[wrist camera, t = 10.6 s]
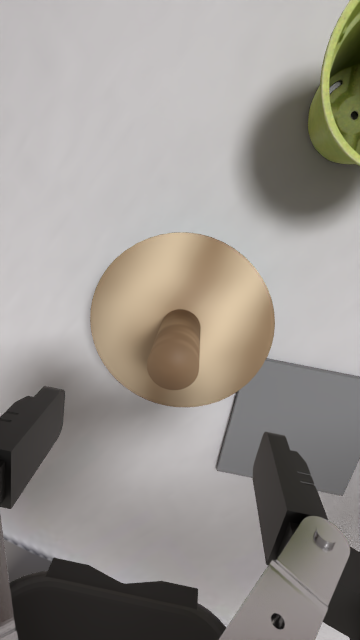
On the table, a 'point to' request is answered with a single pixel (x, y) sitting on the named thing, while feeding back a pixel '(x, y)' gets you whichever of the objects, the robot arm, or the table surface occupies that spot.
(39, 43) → the table surface
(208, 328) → the lid
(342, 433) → the mat
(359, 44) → the plant pot
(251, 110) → the table surface
